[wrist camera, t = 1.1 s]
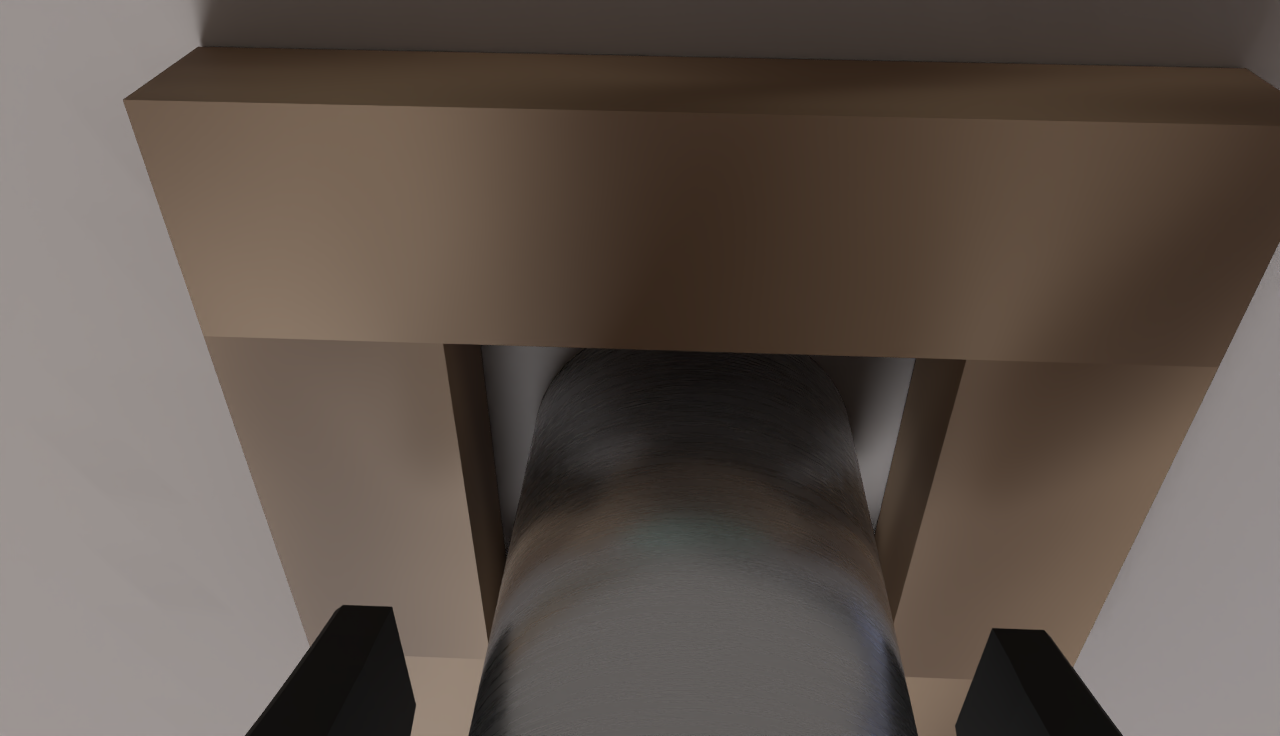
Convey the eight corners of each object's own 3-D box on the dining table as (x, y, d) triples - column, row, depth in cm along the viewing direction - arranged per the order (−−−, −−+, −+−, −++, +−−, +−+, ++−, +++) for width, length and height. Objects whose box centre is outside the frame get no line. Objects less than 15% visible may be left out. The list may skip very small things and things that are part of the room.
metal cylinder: (873, 321, 13) (1040, 884, 7) (827, 559, 16) (915, 1100, 10) (524, 311, 13) (376, 851, 7) (544, 549, 16) (453, 1073, 10)
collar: (1246, 68, 10) (1335, 126, 9) (990, 693, 18) (1017, 781, 16) (198, 46, 11) (122, 100, 9) (373, 667, 18) (345, 751, 17)
